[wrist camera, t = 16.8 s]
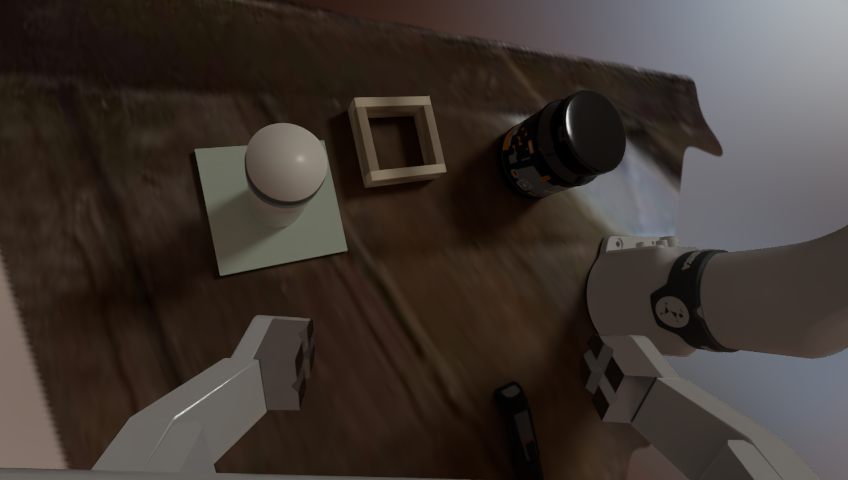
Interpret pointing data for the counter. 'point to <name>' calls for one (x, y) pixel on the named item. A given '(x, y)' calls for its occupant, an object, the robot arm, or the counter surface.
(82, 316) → the counter surface
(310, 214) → the mat
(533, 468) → the electric trimmer
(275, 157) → the white capsule post
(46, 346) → the counter surface
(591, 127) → the supplement container
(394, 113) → the square wooden frame
